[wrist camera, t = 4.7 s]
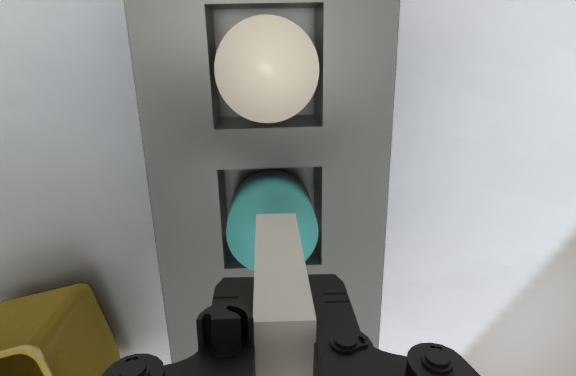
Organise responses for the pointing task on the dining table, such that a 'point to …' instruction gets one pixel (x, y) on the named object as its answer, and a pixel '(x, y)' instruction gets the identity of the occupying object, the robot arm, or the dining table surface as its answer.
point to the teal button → (268, 212)
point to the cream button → (266, 68)
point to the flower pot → (55, 334)
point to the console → (264, 145)
